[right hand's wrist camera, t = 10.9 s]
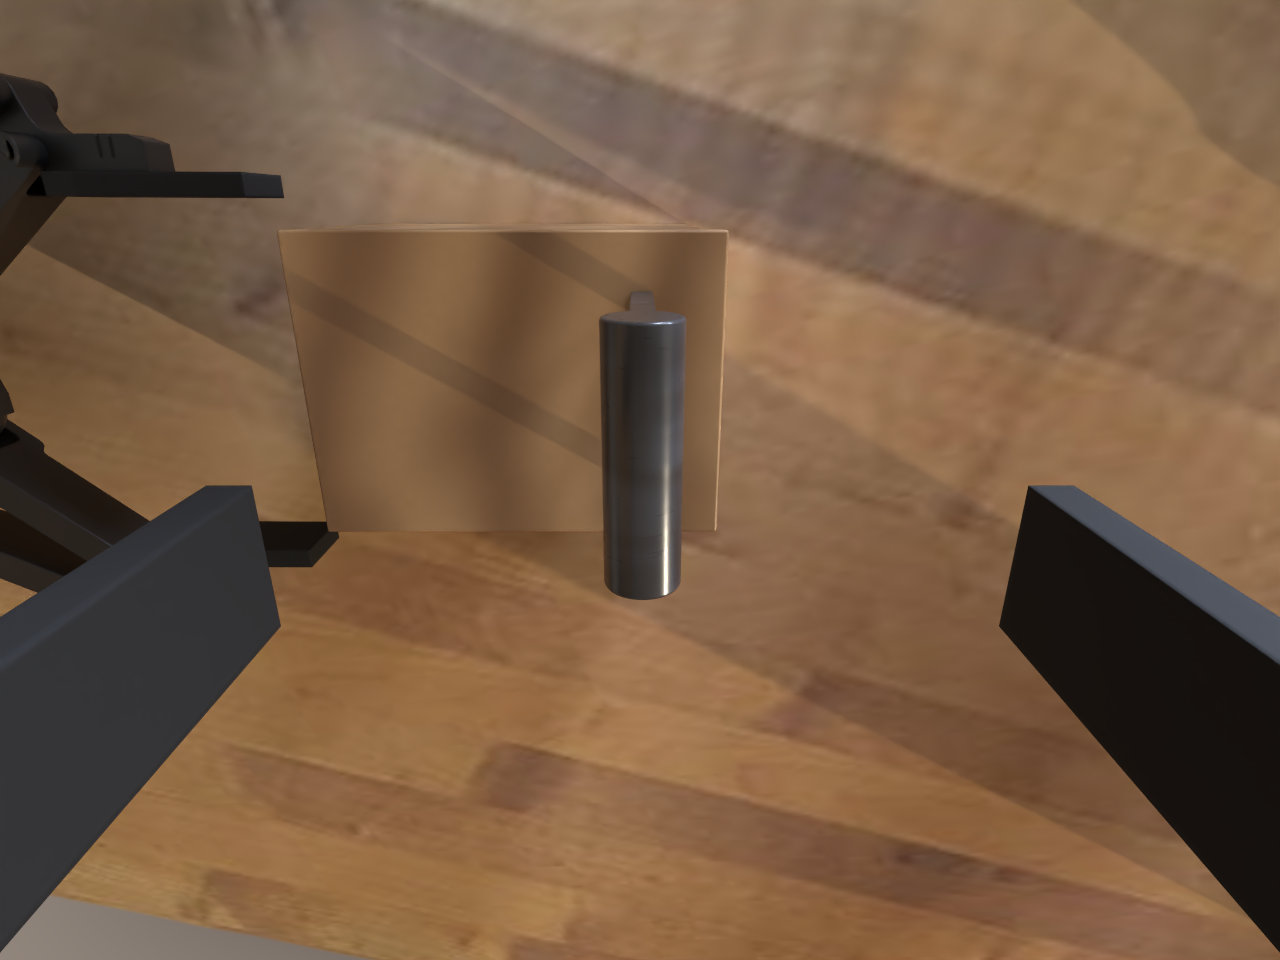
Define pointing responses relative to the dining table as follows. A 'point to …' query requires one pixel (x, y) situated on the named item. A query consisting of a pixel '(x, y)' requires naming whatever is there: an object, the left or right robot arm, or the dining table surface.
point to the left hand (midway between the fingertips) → (298, 380)
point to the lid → (517, 383)
